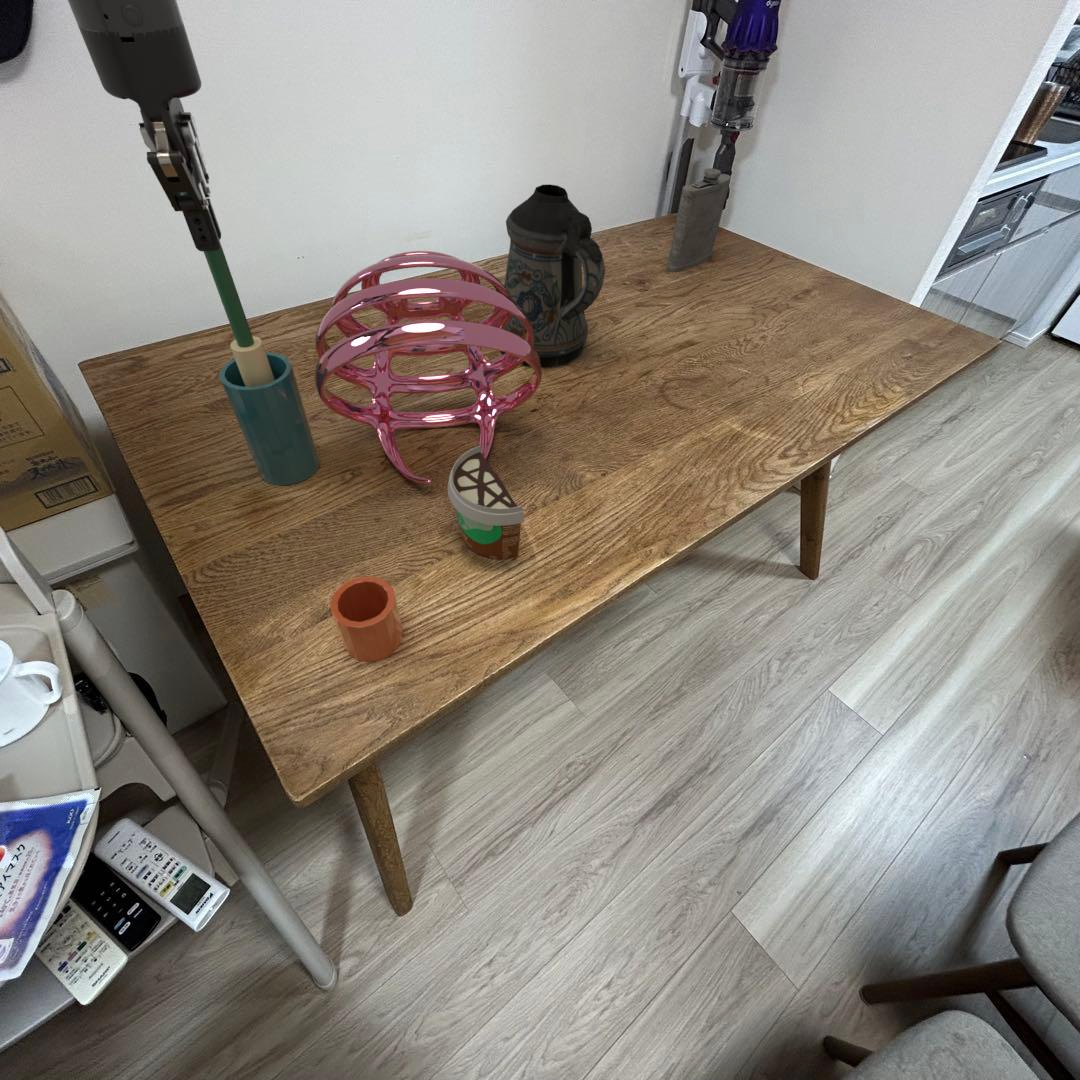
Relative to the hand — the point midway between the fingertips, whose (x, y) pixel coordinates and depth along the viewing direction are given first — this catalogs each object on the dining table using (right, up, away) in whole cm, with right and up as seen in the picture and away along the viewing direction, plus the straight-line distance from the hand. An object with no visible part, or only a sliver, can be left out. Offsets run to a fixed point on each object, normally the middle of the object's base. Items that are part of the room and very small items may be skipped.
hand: (210, 243), depth 60 cm
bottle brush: (-1, -11, +13) cm, 17 cm away
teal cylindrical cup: (-1, -20, +22) cm, 30 cm away
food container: (+26, -30, +14) cm, 42 cm away
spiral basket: (+19, -16, +27) cm, 36 cm away
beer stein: (+35, +4, +46) cm, 57 cm away
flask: (+66, +31, +71) cm, 102 cm away
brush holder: (+15, -41, +4) cm, 44 cm away
